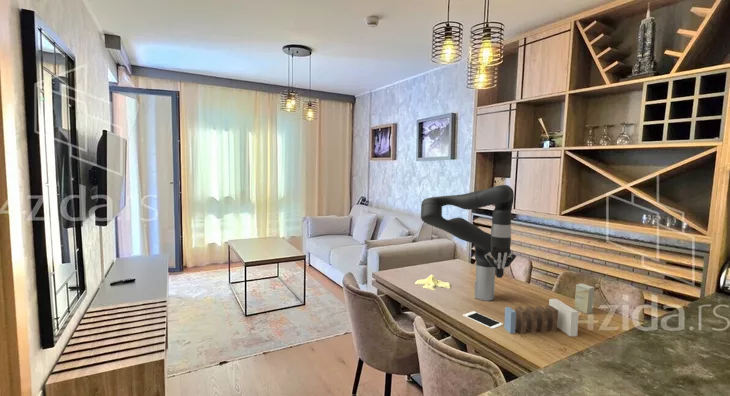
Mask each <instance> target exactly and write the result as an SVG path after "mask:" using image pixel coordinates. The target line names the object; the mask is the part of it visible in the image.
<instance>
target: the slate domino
mask: <svg viewBox="0 0 730 396" xmlns="http://www.w3.org/2000/svg"><path fill="white" fill-rule="evenodd" d="M515 323H516V312H515V310H514V309H513V308H512V307H511V306H506V307H504V323H503V326H504V327H503V329H505V330H506V331H507V332H508V333H509V334H516V328H515Z"/></svg>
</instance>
